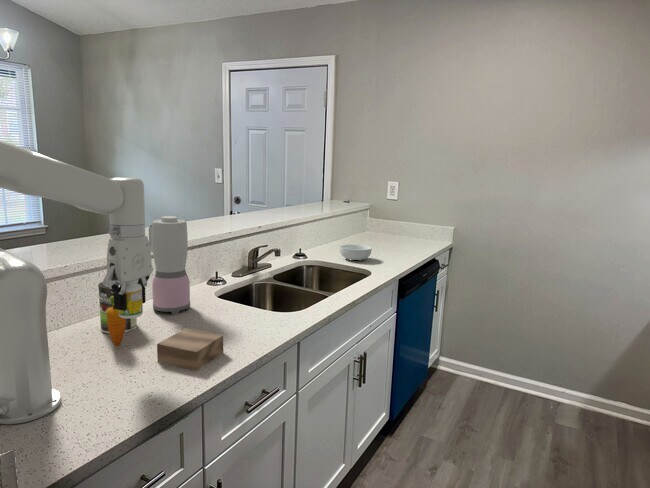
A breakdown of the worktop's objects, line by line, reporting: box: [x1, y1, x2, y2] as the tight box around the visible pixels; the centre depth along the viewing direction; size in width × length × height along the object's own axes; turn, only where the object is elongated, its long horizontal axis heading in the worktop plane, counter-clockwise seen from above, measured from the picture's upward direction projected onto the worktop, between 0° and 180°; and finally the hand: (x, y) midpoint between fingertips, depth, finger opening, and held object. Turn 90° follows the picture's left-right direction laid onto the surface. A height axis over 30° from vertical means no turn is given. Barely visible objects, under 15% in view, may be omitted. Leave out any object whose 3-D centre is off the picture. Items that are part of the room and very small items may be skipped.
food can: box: [97, 280, 138, 335], centre depth 137 cm, size 10×10×14 cm
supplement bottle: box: [118, 279, 144, 318], centre depth 108 cm, size 5×5×10 cm
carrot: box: [106, 296, 126, 348], centre depth 123 cm, size 5×5×15 cm
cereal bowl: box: [339, 244, 372, 261], centre depth 243 cm, size 17×17×7 cm
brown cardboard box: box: [156, 327, 224, 372], centre depth 120 cm, size 12×12×5 cm
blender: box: [148, 215, 191, 316], centre depth 154 cm, size 16×12×32 cm
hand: (130, 305), depth 108 cm, fingers closed on supplement bottle, 5 cm apart
